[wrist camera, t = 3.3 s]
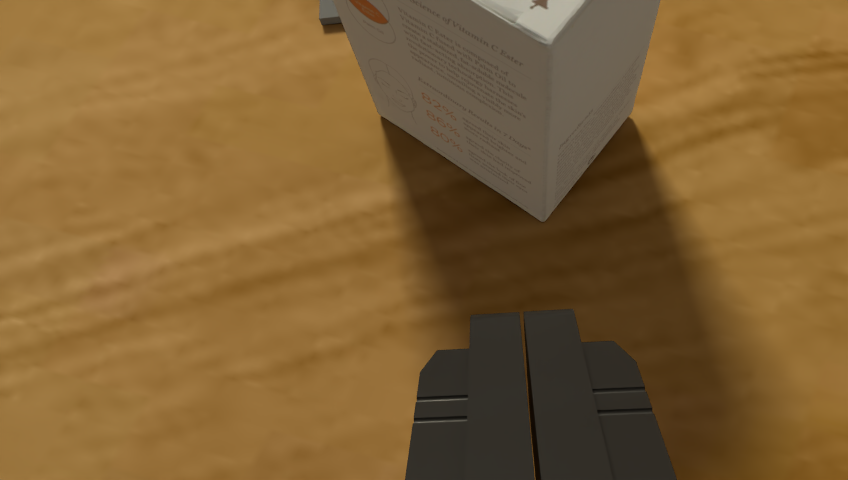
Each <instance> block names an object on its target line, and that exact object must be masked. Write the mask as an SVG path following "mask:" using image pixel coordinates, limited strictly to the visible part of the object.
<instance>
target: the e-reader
mask: <svg viewBox="0 0 848 480" xmlns="http://www.w3.org/2000/svg"><path fill="white" fill-rule="evenodd" d="M319 19H320V21H321V24H322V25H325V24H334V23H342V22H341V19H340V17H339V14H338V12H337V9H336V7H335V4H334V2H333V0H320V13H319Z"/></svg>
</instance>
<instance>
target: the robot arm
mask: <svg viewBox="0 0 848 480" xmlns="http://www.w3.org/2000/svg"><path fill="white" fill-rule="evenodd" d="M524 331H525V347H526V363H527V378H528V394H529V408H530V422H531V434H532V445H533V455H534V466H535V477H536V480H677V479H676V476H675V473H674V470H673V467H672V464H671V461H670V458H669V455H668V453H667V450H666V447H665V444H664V441H663V438H662V435H661V432H660V430H659V427H658V424H657V421H656V418H655V415H654V413H652V407H651V404H650V401H649V398H648V395H647V392H645V386H644V383H643V381H642V378H641V375H640V372H639V369H638V366H637V363H636V361H635V360H634V359H633V358H632V357H630V356H629V355H628V354H627V353H626V352H625V351H624V350H623V349H622V348H621V347H620V346H618V345H617V344H616V343H615V342H614V341H601V342H582V343H581V339H580V335H579V331H578V327H577V322H576V318H575V314H574V310H573V309H562V310H545V311H528V312H524ZM532 445H531V435H530V424H529V413H528V402H527V391H526V380H525V369H524V359H523V348H522V337H521V326H520V315H519V312H514V313H497V314H479V315H471V317H470V346H469V349H453V350H437V351H436V353H435V354H434V355H433V356H432V358H431V359H430V360H429V362H428V363H427V364H426V365H425V367H424V368H423V369H422V370H421V372H420V377H419V384H418V391H417V402H416V406H415V413H414V423H413V427H412V434H411V441H410V448H409V456H408V463H407V470H406V477H405V480H535V478H534V467H533V456H532Z"/></svg>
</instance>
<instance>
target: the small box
mask: <svg viewBox="0 0 848 480" xmlns="http://www.w3.org/2000/svg"><path fill="white" fill-rule="evenodd" d="M333 2H334V4H335V7H336V9H337V12H338V14H339V17H340V19H341V22H342V24H343V27H344V29H345V32H346V34H347V37H348V39H349V42H350V44H351V47H352V49H353V51H354V54H355V56H356V59H357V61H358V64H359V66H360V69H361V71H362V74H363V76H364V79H365V81H366V84H367V86H368V89H369V91H370V94H371V96H372V98H373V101H374V103H375V106H376V109H377V112H378V113H379V114H380V115H381V116H382V117H384V118H386V119H387V120H389V121H390V122H392V123H393V124H395V125H397V126H398V127H400V128H401V129H403V130H404V131H406V132H407V133H409V134H410V135H412V136H413V137H415V138H416V139H418V140H419V141H421V142H422V143H424V144H425V145H427V146H428V147H430V148H431V149H433V150H435V151H436V152H437V153H439V154H440V155H442V156H443V157H445V158H446V159H448V160H450V161H451V162H453V163H454V164H456V165H457V166H459V167H460V168H462V169H463V170H465V171H466V172H468V173H469V174H471V175H472V176H474V177H475V178H477V179H478V180H480V181H481V182H483V183H484V184H486V185H487V186H489V187H490V188H492V189H493V190H495V191H496V192H498V193H500V194H501V195H503V196H504V197H506V198H507V199H509V200H510V201H511V202H513V203H515V204H516V205H518V206H519V207H521V208H522V209H524V210H525V211H526V212H528V213H529V214H531V215H532V216H534V217H535V218H536V219H538V220H540V221H542V222H544V221H546V220H547V218H548V217H549V216H550V214H551V213H552V212H553V211H554V209H555V208H556V207H557V205H558V204H559V203H560V202H561V201H562V199H563V198H564V197H565V196H566V194H567V193H568V192H569V191H570V189H571V188H572V187H573V185H574V184H575V183H576V182H577V180H578V179H579V178H580V177H581V175H582V174H583V173H584V172H585V170H586V169H587V168H588V167H589V165H590V164H591V163H592V162H593V160H594V159H595V158H596V157H597V155H598V154H599V153H600V152H601V150H602V149H603V148H604V147H605V145H606V144H607V143H608V141H609V140H610V139H611V138H612V136H613V135H614V134H615V133H616V131H617V130H618V129H619V128H620V126H621V125H622V124H623V122H624V121H625V120H626V119H627V117H628V116H629V115H630V114H631V112H632V110H633V106H634V101H635V97H636V93H637V90H638V86H639V83H640V79H641V75H642V71H643V67H644V63H645V59H646V55H647V51H648V47H649V43H650V39H651V35H652V32H653V28H654V24H655V20H656V16H657V12H658V8H659V3H660V0H333Z"/></svg>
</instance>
